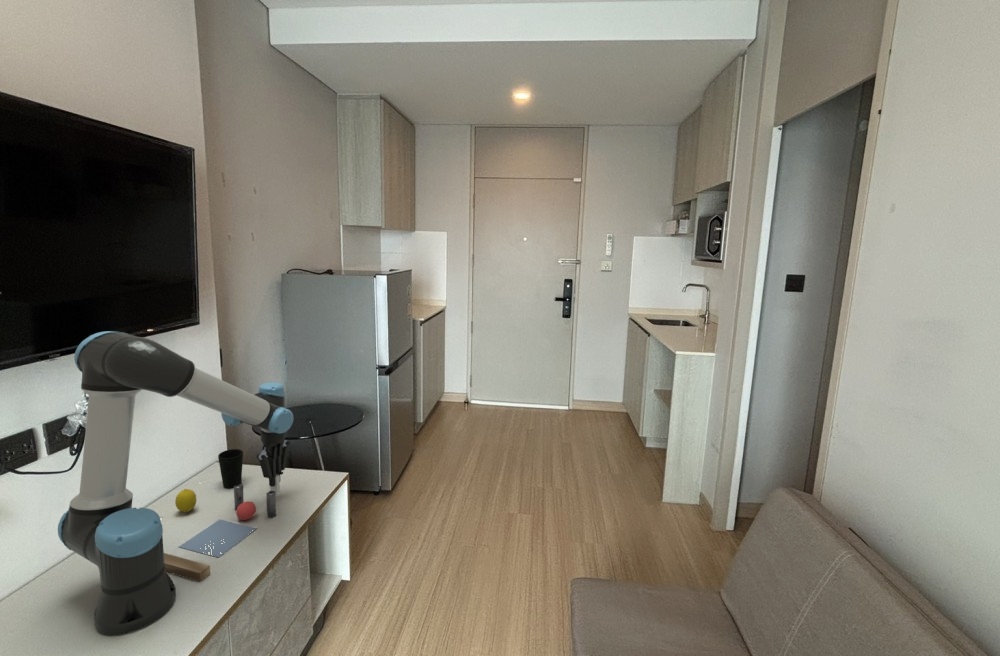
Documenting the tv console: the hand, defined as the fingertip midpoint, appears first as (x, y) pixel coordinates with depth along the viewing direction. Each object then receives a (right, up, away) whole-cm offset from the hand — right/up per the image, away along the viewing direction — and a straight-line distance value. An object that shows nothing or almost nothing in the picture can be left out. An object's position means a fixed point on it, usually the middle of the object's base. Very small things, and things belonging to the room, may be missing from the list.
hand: (275, 492), depth 156 cm
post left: (-8, -3, -7) cm, 11 cm away
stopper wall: (-9, -8, -35) cm, 37 cm away
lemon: (-23, -3, -10) cm, 26 cm away
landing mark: (-6, -5, -22) cm, 23 cm away
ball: (-3, -1, -12) cm, 13 cm away
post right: (+4, -4, -10) cm, 11 cm away
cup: (-19, 0, +7) cm, 20 cm away
